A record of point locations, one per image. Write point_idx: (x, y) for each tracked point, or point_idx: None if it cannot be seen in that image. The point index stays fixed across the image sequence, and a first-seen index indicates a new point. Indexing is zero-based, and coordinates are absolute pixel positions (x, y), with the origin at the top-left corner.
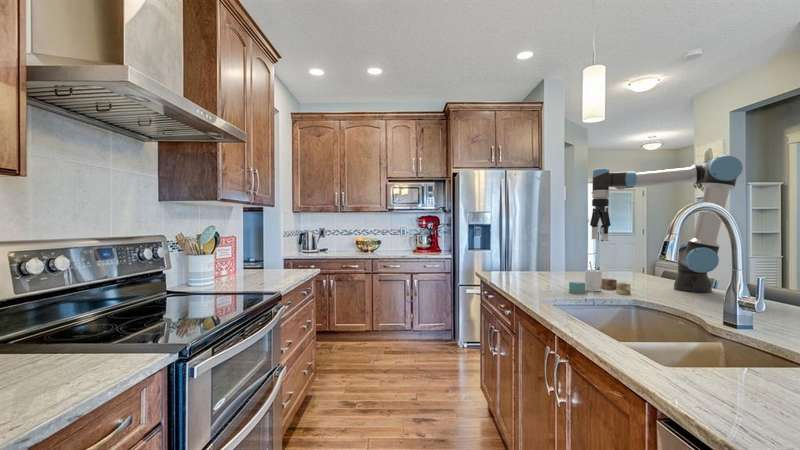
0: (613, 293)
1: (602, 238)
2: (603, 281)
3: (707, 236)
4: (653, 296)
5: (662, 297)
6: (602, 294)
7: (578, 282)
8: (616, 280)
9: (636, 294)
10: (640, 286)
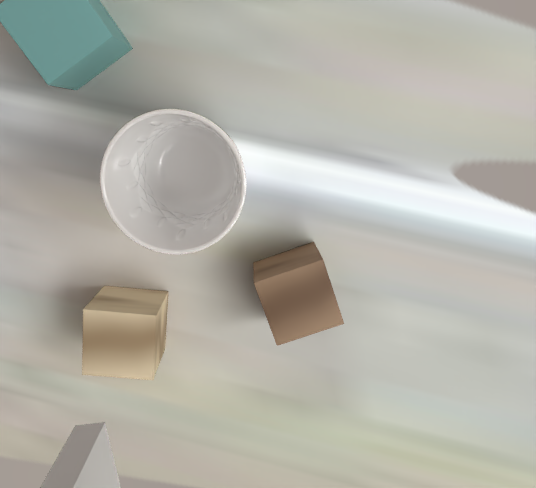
0: (114, 262)
1: (63, 454)
2: (295, 263)
3: None
4: None
5: None
6: (55, 188)
7: (60, 35)
8: (276, 342)
9: None
10: (417, 471)
